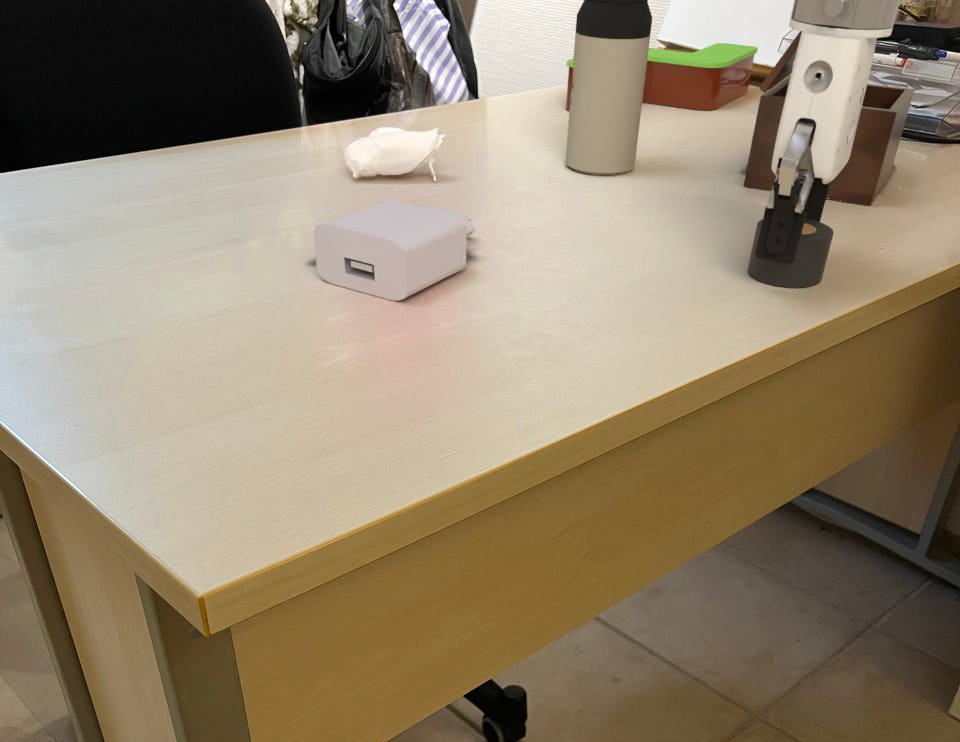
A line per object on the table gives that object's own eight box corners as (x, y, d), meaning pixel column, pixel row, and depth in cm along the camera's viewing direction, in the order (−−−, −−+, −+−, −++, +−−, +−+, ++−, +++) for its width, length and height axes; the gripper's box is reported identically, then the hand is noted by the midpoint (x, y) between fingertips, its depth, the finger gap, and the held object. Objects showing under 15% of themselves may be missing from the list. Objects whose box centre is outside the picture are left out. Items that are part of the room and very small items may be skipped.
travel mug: (645, 166, 110) (669, -22, 98) (613, 180, 105) (635, -16, 93) (586, 154, 113) (602, -28, 102) (552, 168, 108) (565, -23, 97)
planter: (683, 128, 125) (691, 77, 121) (560, 110, 132) (564, 61, 128) (751, 91, 145) (760, 47, 141) (641, 77, 152) (646, 34, 148)
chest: (889, 176, 110) (914, 89, 104) (870, 206, 100) (897, 112, 94) (771, 159, 114) (789, 74, 108) (743, 186, 105) (760, 95, 99)
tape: (827, 270, 84) (840, 223, 82) (813, 293, 80) (825, 244, 77) (757, 258, 86) (766, 211, 84) (739, 279, 82) (749, 231, 79)
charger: (503, 254, 85) (406, 304, 76) (420, 234, 89) (317, 280, 79) (506, 198, 82) (404, 243, 72) (419, 180, 86) (312, 220, 76)
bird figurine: (426, 181, 107) (339, 160, 104) (442, 120, 102) (352, 95, 99) (431, 202, 104) (342, 181, 101) (448, 140, 99) (355, 116, 96)
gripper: (878, 26, 63) (810, 283, 74) (911, 1, 75) (848, 225, 86) (768, 14, 66) (717, 264, 77) (817, -9, 78) (767, 211, 89)
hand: (787, 243), depth 81 cm, fingers open, 9 cm apart
